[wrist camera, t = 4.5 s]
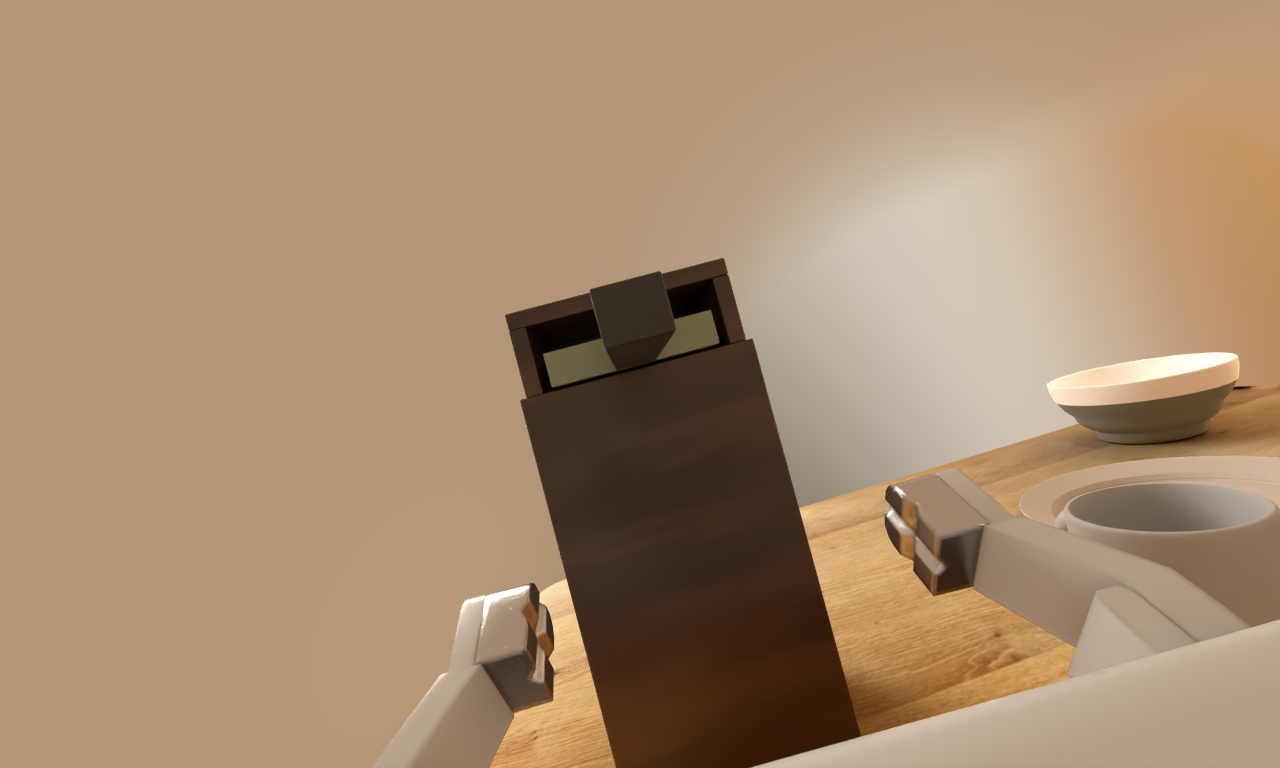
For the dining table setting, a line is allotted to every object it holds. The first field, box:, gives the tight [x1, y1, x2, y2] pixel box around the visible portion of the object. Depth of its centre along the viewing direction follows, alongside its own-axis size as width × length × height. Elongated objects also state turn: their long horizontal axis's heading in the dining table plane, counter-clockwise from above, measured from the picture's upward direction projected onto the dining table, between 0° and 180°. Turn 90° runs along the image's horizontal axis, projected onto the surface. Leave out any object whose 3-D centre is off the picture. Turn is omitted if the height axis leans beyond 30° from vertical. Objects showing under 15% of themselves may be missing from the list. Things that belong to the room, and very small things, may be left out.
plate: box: [1019, 456, 1280, 527], centre depth 47 cm, size 26×26×2 cm
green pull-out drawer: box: [543, 272, 720, 389], centre depth 26 cm, size 22×10×2 cm, turn 1°
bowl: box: [1047, 353, 1240, 444], centre depth 70 cm, size 20×20×10 cm
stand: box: [505, 258, 861, 768], centre depth 34 cm, size 12×14×31 cm
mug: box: [1055, 483, 1280, 627], centre depth 29 cm, size 12×8×11 cm
